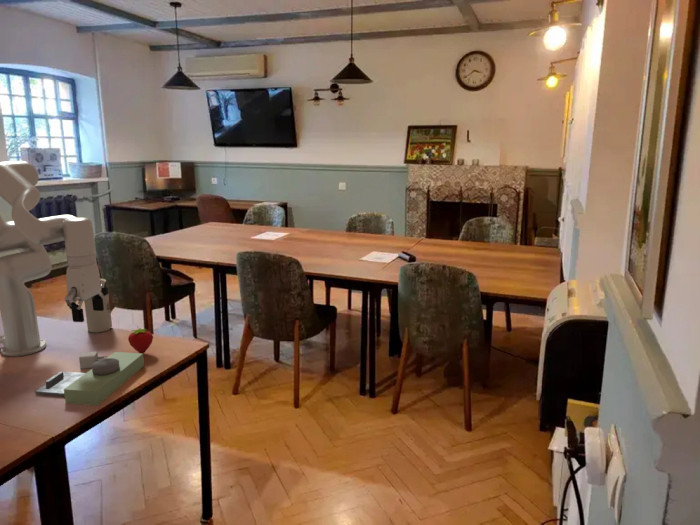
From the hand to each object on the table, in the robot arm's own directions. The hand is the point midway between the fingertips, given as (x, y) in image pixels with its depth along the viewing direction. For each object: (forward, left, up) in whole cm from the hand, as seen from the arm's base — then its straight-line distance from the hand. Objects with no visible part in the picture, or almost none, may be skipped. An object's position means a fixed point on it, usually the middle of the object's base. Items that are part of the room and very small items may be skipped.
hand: (89, 315), depth 155 cm
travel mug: (-16, +28, -16) cm, 36 cm away
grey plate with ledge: (+1, -13, -16) cm, 21 cm away
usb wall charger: (0, 0, -16) cm, 16 cm away
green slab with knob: (+10, -10, -16) cm, 21 cm away
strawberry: (+10, +10, -16) cm, 21 cm away
